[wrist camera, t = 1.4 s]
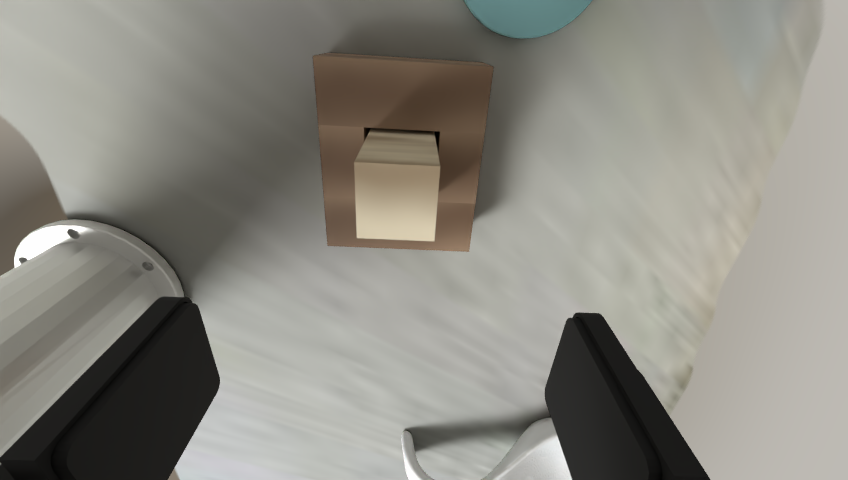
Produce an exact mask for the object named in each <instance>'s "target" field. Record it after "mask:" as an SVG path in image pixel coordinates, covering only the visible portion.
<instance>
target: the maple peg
mask: <svg viewBox="0 0 848 480" xmlns="http://www.w3.org/2000/svg"><path fill="white" fill-rule="evenodd" d="M354 173H355V202H356V231H357V238H365V239H389V240H412V241H434V240H435V227H436V215H437V202H438V190H439V178H440V162H439V156H438V150H437V145H436V139H435V133H434V131H422V130H404V129H385V128H371V129H370V131H369V133H368V135H367V137H366V139H365V141H364V143H363V145H362V147H361V149H360V151H359V153H358V155H357V157H356V159H355V161H354Z"/></svg>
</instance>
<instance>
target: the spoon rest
mask: <svg viewBox="0 0 848 480" xmlns="http://www.w3.org/2000/svg"><path fill="white" fill-rule="evenodd" d="M402 449H403V455H404V463H405V469H406V474H407V476H408V479H409V480H434V479H432V478H431V477H430V476H428V475H427V474H426V473H425V472H424V471H423V469H422V468H421V467H420V465H419V463H418V461H417V458H416V455H415V450H414V444H413V439H412V435H411V434H410V432H408V431H403V432H402ZM481 480H572V478H571V475H570V472H569V469H568V466H567V463H566V460H565V457H564V454H563V451H562V448H561V445H560V442H559V439H558V436H557V433H556V431H555V428H554V425H553V422H552V419H551V417H550V418H544V419H541V420H538V421H536V422H534V423H532V424H531V425H530V426H529V427H528V428H527V429H526V431H525V432H524V433H523V434H522V435H521V436H520V437H519V439H518V440H517V441H516V443H515V444H514V445H513V447H512V448H511V449H510V451H509V452H508V453H507V454H506V456H505V457H504V458H503V460H502V461H501V462H500V463H499V464H498V465H497V466H496V467H495V468H494V470H493V471H492V472H490V473H489V474H488V475H487V476H486V477H484V478H483V479H481Z"/></svg>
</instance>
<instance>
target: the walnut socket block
mask: <svg viewBox="0 0 848 480" xmlns="http://www.w3.org/2000/svg"><path fill="white" fill-rule="evenodd" d="M313 65H314V78H315V91H316V104H317V116H318V129H319V142H320V155H321V168H322V180H323V193H324V206H325V219H326V232H327V245H328V246H345V247H369V248H394V249H418V250H442V251H466V252H469V247H470V240H471V232H472V225H473V217H474V210H475V202H476V195H477V187H478V180H479V172H480V165H481V158H482V150H483V143H484V135H485V128H486V120H487V113H488V105H489V98H490V90H491V83H492V75H493V68H494V67H493V66H490V65H488V64H485V63H483V62H469V61H453V60H437V59H421V58H405V57H389V56H373V55H357V54H341V53H324V54H319V55H314V56H313ZM371 128H385V129H404V130H422V131H436V145H437V150H438V156H439V162H440V178H439V190H438V202H437V215H436V227H435V240H434V241H412V240H389V239H365V238H357V231H356V202H355V173H354V161H355V159H356V157H357V155H358V153H359V151H360V149H361V147H362V145H363V143H364V141H365V139H366V137H367V135H368V133H369V131H370V129H371Z"/></svg>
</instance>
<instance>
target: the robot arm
mask: <svg viewBox="0 0 848 480" xmlns="http://www.w3.org/2000/svg"><path fill="white" fill-rule="evenodd" d="M14 262H15V268H14V269H12V270H10V271H9V272H7V273H5V274H3V275H2V276H0V480H168V478H169V476H170V474H171V473H172V471H173V469H174V467H175V466H176V464H177V462H178V460H179V459H180V457H181V455H182V453H183V452H184V450H185V448H186V446H187V445H188V443H189V441H190V439H191V438H192V436H193V434H194V432H195V430H196V429H197V427H198V425H199V423H200V422H201V420H202V418H203V416H204V415H205V413H206V411H207V409H208V408H209V406H210V404H211V402H212V401H213V399H214V397H215V395H216V393H217V391H218V389H219V385H220V377H219V374H218V370H217V367H216V364H215V360H214V357H213V354H212V351H211V347H210V344H209V341H208V337H207V334H206V331H205V327H204V324H203V321H202V317H201V314H200V311H199V308H198V306H197V305H196V304H194V303H192V301H191V300H190V299H189V298H187V297H184V293H183V290H182V287H181V283H180V281H179V279H178V278H177V276H176V274H175V272H174V271H173V269H172V268H171V267H170V265H169V264H168V263H167V262H166V260H165V259H164V258H163V257H162V256H160V255H159V254H158V253H157V252H156V251H155V250H154V249H153V248H151V247H150V246H149V245H147V244H146V243H144V242H143V241H142V240H140V239H139V238H137V237H135V236H133V235H131V234H129V233H127V232H125V231H123V230H121V229H118V228H116V227H113V226H110V225H108V224H103V223H99V222H95V221H90V220H78V219H71V220H60V221H57V222H53V223H50V224H47V225H45V226H43V227H41V228H39V229H37V230H35V231H33V232H31V233H30V234H29V235H28V236H26V237H25V238H24V239H23V240H22V241H21V243H20V244H19V246H18V248H17V250H16V253H15V257H14ZM545 400H546V404H547V407H548V410H549V413H550V416H551V419H552V422H553V425H554V428H555V431H556V433H557V436H558V439H559V442H560V445H561V448H562V451H563V454H564V457H565V460H566V463H567V466H568V469H569V472H570V475H571V478H572V480H710V478H709V477H708V475H707V474H706V472H705V471H704V469H703V467H702V466H701V464H700V463H699V461H698V460H697V458H696V457H695V455H694V454H693V452H692V450H691V449H690V448H689V446H688V444H687V443H686V441H685V440H684V438H683V437H682V435H681V434H680V432H679V430H678V429H677V427H676V426H675V425H674V423H673V421H672V420H671V418H670V417H669V415H668V414H667V412H666V410H665V409H664V407H663V406H662V404H661V403H660V401H659V400H658V398H657V397H656V395H655V394H654V392H653V390H652V389H651V387H650V386H649V384H648V383H647V381H646V380H645V378H644V377H643V375H642V374H641V373H640V372H639V371H638V370H637V369H636V367H635V365H634V364H633V362H632V361H631V359H630V358H629V356H628V355H627V353H626V351H625V350H624V348H623V347H622V345H621V344H620V342H619V341H618V339H617V338H616V336H615V334H614V333H613V331H612V330H611V328H610V327H609V325H608V324H607V322H606V320H605V319H604V317H603V316H602V315H601V314H599V313H575V314H574V316H573V318H568V319H567V321H566V324H565V327H564V330H563V333H562V336H561V340H560V343H559V346H558V349H557V352H556V355H555V359H554V362H553V365H552V368H551V371H550V375H549V378H548V381H547V384H546V387H545Z"/></svg>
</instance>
